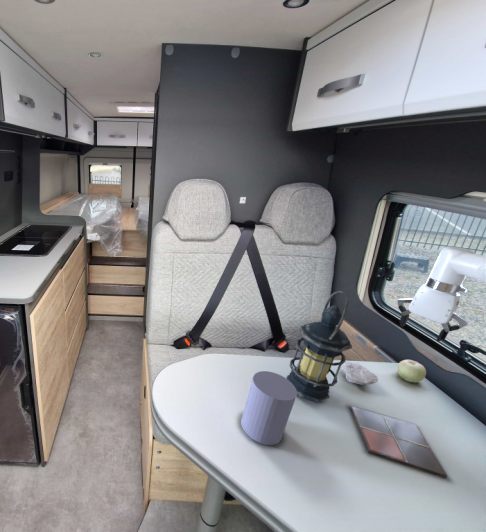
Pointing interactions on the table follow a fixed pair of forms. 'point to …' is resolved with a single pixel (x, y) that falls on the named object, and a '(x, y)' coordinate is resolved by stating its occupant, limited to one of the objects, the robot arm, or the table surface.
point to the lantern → (320, 353)
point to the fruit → (411, 371)
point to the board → (396, 441)
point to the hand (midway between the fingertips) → (419, 332)
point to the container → (268, 407)
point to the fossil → (358, 374)
